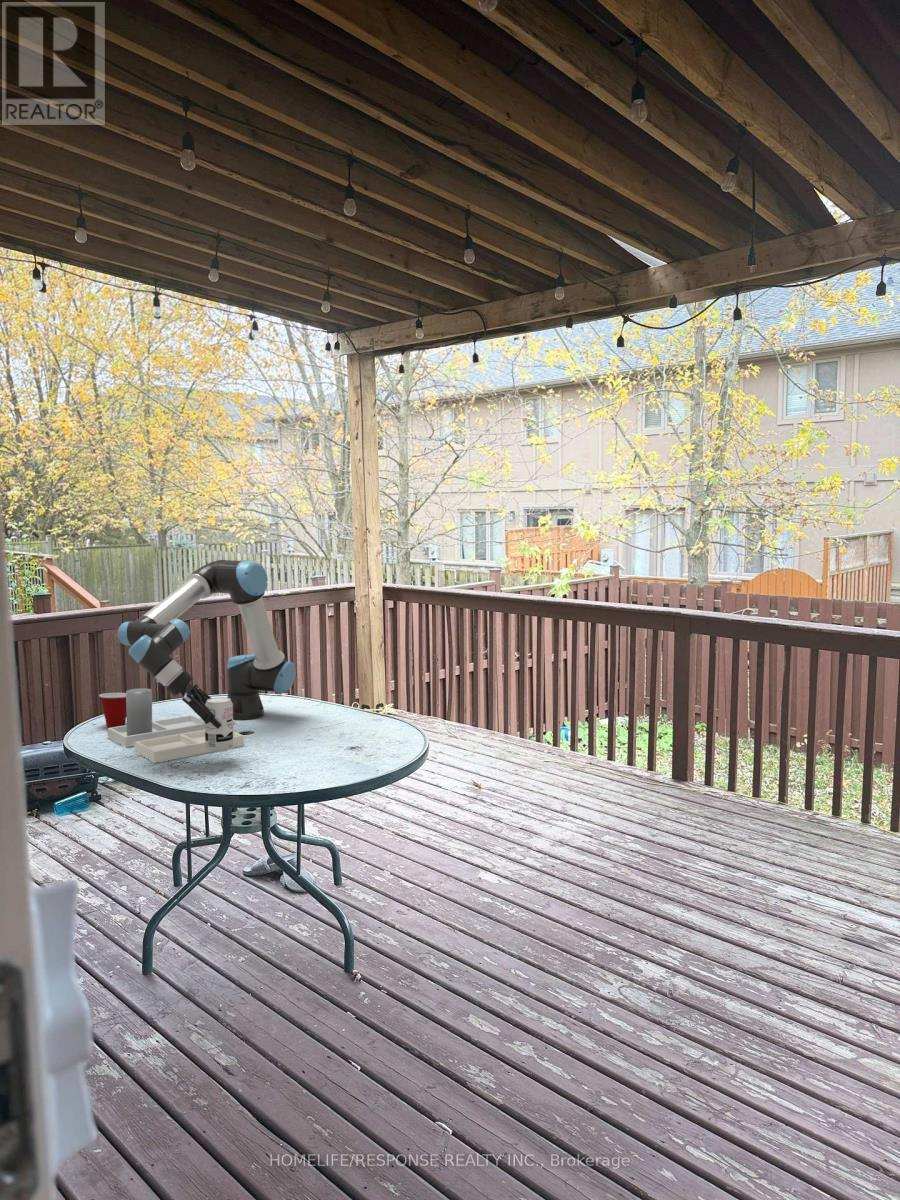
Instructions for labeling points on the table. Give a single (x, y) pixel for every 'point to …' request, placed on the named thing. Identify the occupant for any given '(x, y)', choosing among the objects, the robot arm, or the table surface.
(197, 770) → the table surface
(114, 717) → the plastic cup
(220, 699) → the supplement can
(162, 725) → the tray
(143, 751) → the tray
